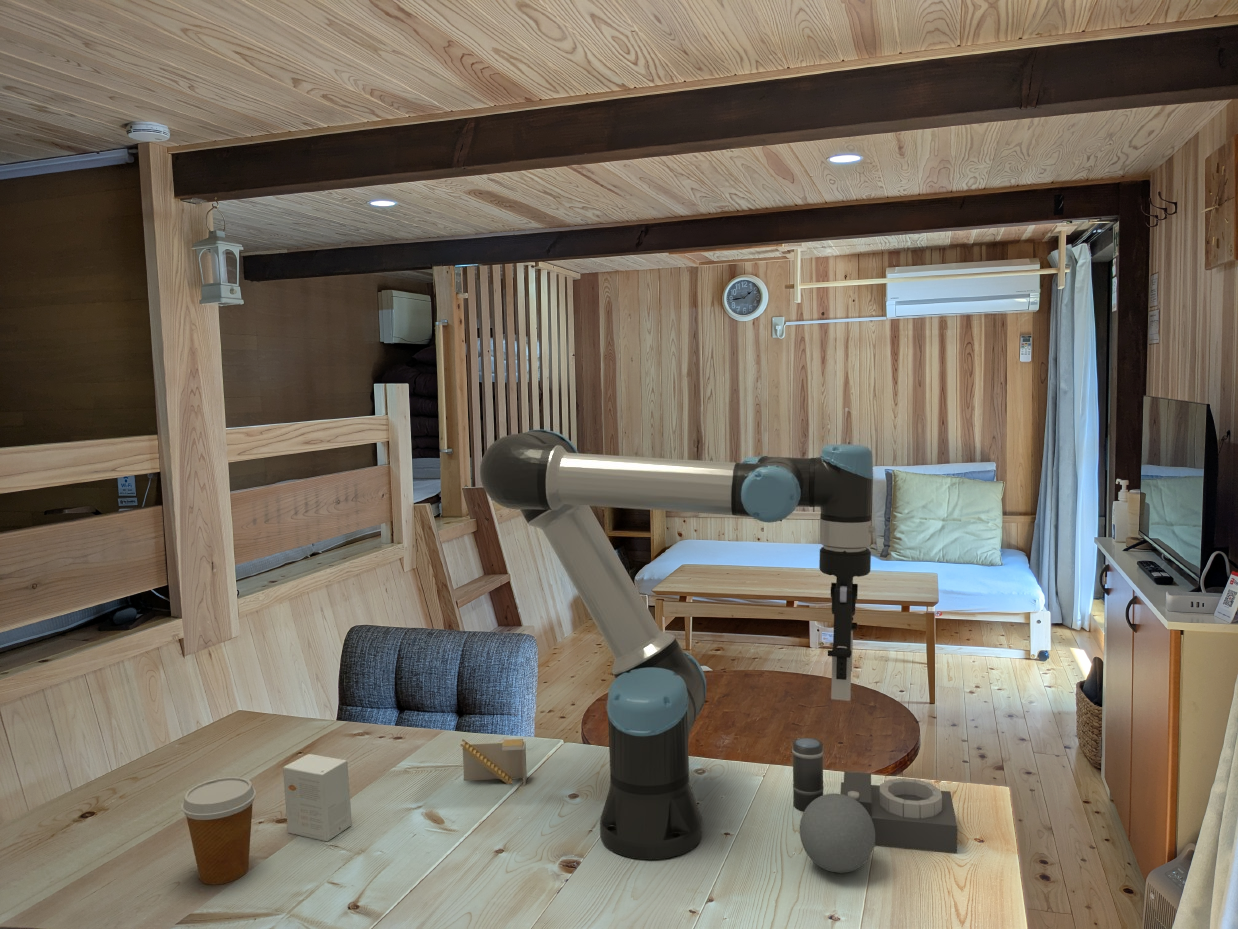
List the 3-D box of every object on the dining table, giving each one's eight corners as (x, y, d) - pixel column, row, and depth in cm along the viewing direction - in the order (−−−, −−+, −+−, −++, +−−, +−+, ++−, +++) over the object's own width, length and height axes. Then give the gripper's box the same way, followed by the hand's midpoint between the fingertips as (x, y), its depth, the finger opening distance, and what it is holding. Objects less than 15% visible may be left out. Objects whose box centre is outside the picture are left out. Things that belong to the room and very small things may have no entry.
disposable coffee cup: (214, 898, 121) (208, 811, 120) (172, 880, 126) (166, 796, 125) (275, 865, 129) (270, 784, 128) (233, 849, 134) (227, 770, 133)
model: (525, 787, 153) (523, 743, 152) (461, 790, 152) (459, 746, 152) (526, 779, 156) (525, 736, 155) (464, 782, 155) (462, 738, 155)
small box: (352, 826, 140) (349, 760, 139) (327, 843, 135) (323, 774, 134) (313, 817, 143) (309, 752, 142) (286, 833, 138) (282, 766, 137)
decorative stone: (813, 843, 131) (813, 775, 130) (883, 859, 126) (883, 790, 125) (789, 876, 122) (788, 804, 121) (863, 895, 117) (863, 820, 116)
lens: (791, 811, 141) (791, 747, 140) (794, 797, 145) (793, 736, 144) (823, 814, 139) (822, 749, 138) (824, 800, 144) (823, 738, 143)
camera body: (839, 841, 131) (838, 797, 130) (841, 807, 141) (840, 766, 141) (957, 853, 127) (957, 808, 126) (950, 817, 137) (950, 774, 137)
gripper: (871, 564, 124) (867, 715, 126) (870, 534, 148) (867, 661, 150) (815, 561, 126) (812, 710, 128) (823, 532, 150) (821, 658, 152)
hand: (842, 684), depth 139 cm, fingers open, 13 cm apart
